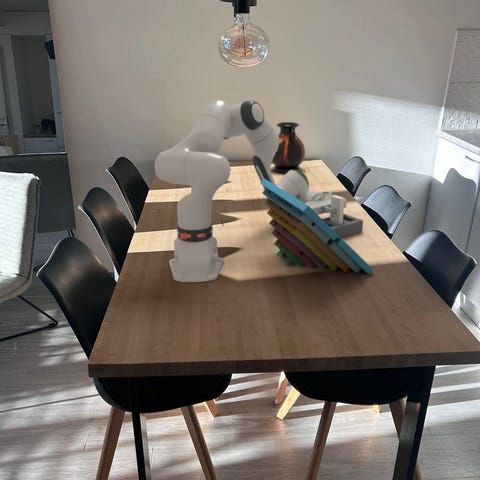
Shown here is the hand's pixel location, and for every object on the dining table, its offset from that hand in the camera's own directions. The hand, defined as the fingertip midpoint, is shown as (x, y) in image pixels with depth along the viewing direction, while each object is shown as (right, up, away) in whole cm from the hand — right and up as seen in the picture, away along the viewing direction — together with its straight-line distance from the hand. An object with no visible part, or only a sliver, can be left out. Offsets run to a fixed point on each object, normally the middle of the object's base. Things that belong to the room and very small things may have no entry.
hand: (338, 210), depth 193 cm
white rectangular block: (0, -6, +3) cm, 7 cm away
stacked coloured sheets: (-13, -19, -20) cm, 30 cm away
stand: (0, -9, +4) cm, 10 cm away
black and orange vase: (-11, +30, +104) cm, 109 cm away
